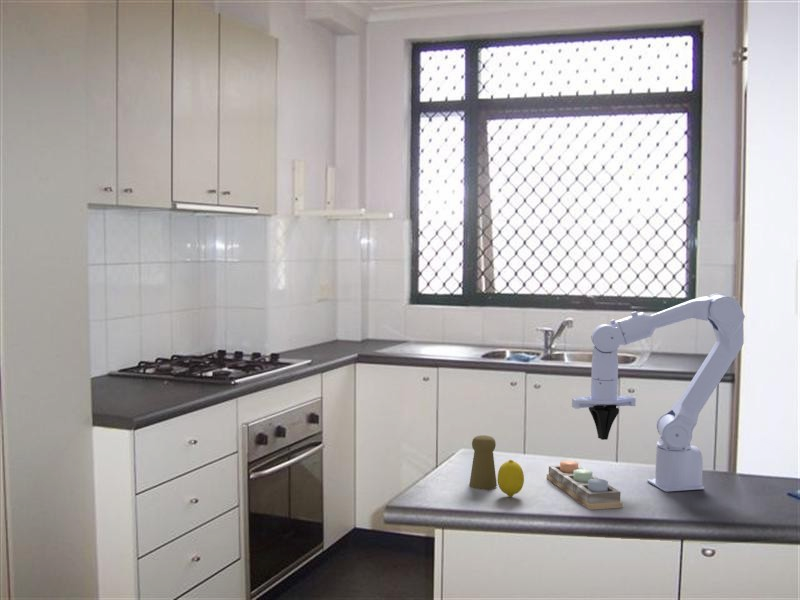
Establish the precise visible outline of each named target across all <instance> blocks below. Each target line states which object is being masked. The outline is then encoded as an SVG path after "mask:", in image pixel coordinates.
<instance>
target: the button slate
mask: <svg viewBox="0 0 800 600" xmlns="http://www.w3.org/2000/svg"><path fill="white" fill-rule="evenodd" d="M608 483H609V482H608V480H606V479H603V478H599V479H596V478H595V479H589V480H588V490H589V491H591V492H606V491H608V485H609V484H608Z"/></svg>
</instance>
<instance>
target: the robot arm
mask: <svg viewBox="0 0 800 600" xmlns="http://www.w3.org/2000/svg"><path fill="white" fill-rule="evenodd" d="M745 316H746V315H745V313H744V311H743V309H742V307H741V305H740V303H739V301H738V299H736V298H734V297H731V296H729V295H725V294H723V293H712V294H709V296H707V295H706V296H699V297H696V298H693V299H690V300H686V301H683V302H682V303H679V304H676V305H674V306H671V307H669V308H666V309H663V310H661V311H660V310H659V311H658V312H656V313H653V314H648V313H645V312H643V311H641V312H637V311H632V312H630V315H629V316H625V317H623V318H620V319H617V320H615V319H611V320H609V322H610V324H608V323H602V324H599V325H598V326H596V327H595V328H594V329H593V331H592V334H591V336H590V339H591V343H593V345H594V346H593V347H592V348H593V349H592V358H591V375H590V376H591V379H590V380H591V382H590V383H591V385H590V396H584V397H583V396H582V397H576V398H575V397H574V398H571V407H572V408H573V409H576V410H577V409H581V408H588V410H589V412H590V415H591V416H592V419H593V422H594V424H595V428H596V432H597V438H598V439H600V440H608V438H609V434H610V431H611V429H612V426H613V424H614V422H615V420H616V418H617V416H618V415H619V413H620V409H619V408H618V407H627V406H628V407H636V401H637V400H636V399H637V398H636V397H635V396H631V395H629V396H628V395H626V396H625V395H624V396H623V395H618V387H619V386H618V385H619V383H618V381H619V358H618V350H619V348H620V346H626V345H629V344H632V343H636V342H638V341H642V340H644V339H648V338H651V337H652V335H653V334H654V331H655V330H656V329H659V328H663V327H666V326H669V325H673V324H675V323H680V322H683V321H687V320H690V319H696V320H700V321H701V320H702V321H707V322H709V323H710V324H711V326H712V329H713V332H714V336H715V338H716V341H715V343H714V344H713V346H712V348H711V349H710V350H709V353H708V354H707V355H706V357H705V359H704V360H703V362H702V364H701V365H700V366H699V367H698V370H697V371H696V373H695V374H694V376H693V378H692V379H691V380H690V383H689V384H688V386H686V388H685V390H684V392H683V393H682V395H681V396H680V397H679V399H678V401H677V402H675V403H674V404H673V405H672V406H671V407H670V409H669V410H668V411H667V412H665V413H663V414H662V415H661V416H660V417H659V418H658V420H657V421H656V422H657V423H656V429H657V433H658V434H659V435H660V438H659V440H658V441H657V442H656V445H655V446H656V448H655V449H656V450H655V452H656V453H655V477H654V478H649V479H647V483H649V484H651V485H653V486H655V487H657V488H659V489H660V490H661V491H664V492H665V493H666V492H667V493H668V492H680V491H681V492H682V491H694V490H704V488H705V486H703V468H704V463H703V462H704V461H703V454H702V452H701V449H699V448H698V447H697V445H691V442H692V441H693V440H692V439H693V431H694V429H695V427H696V426H697V424H698V420H699V415H700V412H701V411H702V409H704V407H705V405H706V404H707V402H708V401H709V399H710V397H712V394H713V392H715V390H716V388H717V386H718V385H719V383H720V382H721V380H722V379H723V377H724V376H725V374H726V373H727V371H728V370H729V368H730V366H731V365H732V363H733V362H734V360H735V359H736V357H737V356H738V354H739V352H740V351H741V349H742V348H743V345H744V341H745V340H744V337H745V336H744V331H745V330H744V322H745V318H746V317H745Z"/></svg>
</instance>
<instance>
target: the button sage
mask: <svg viewBox="0 0 800 600" xmlns="http://www.w3.org/2000/svg"><path fill="white" fill-rule="evenodd" d="M592 475H593V471H592V470H590V469H584V468H583V469H577V470H574V473H573V480H575V481H576V482H588V480H589V479H592Z"/></svg>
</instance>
